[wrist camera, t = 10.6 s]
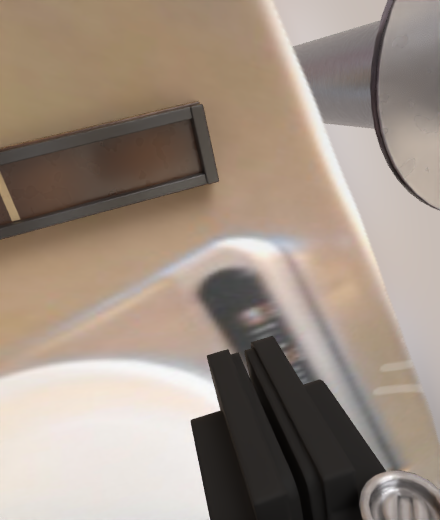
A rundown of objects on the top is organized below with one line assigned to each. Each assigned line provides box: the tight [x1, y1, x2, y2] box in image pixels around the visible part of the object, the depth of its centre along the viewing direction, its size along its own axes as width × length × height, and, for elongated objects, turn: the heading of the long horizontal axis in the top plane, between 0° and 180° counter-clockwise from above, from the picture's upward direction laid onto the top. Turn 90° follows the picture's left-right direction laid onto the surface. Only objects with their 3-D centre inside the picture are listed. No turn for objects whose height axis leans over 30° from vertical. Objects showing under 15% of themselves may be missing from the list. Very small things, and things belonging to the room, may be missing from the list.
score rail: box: [0, 101, 219, 240], centre depth 26 cm, size 26×5×2 cm, turn 102°
